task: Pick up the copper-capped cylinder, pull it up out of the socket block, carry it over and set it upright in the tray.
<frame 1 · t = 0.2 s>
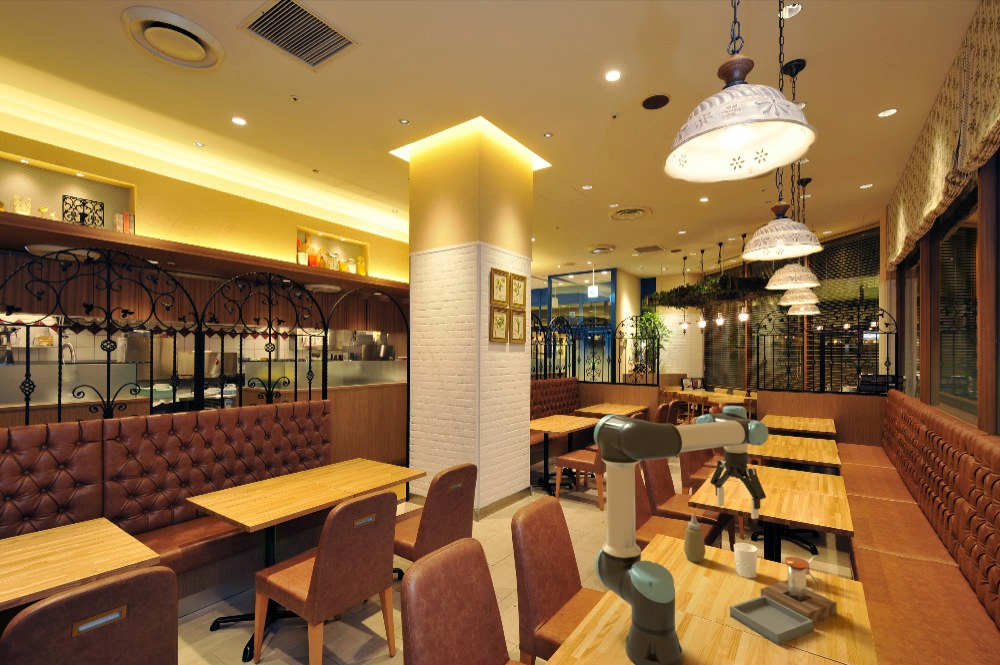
hand: (737, 511, 164), 28 cm above the table, fingers open, 13 cm apart
lily: (804, 582, 171), on the table
squeeze bottle: (694, 560, 189), on the table
tray: (770, 623, 146), on the table
socket block: (797, 607, 154), on the table
white cup: (746, 574, 177), on the table
copper-capped cylinder: (797, 584, 154), in the socket block
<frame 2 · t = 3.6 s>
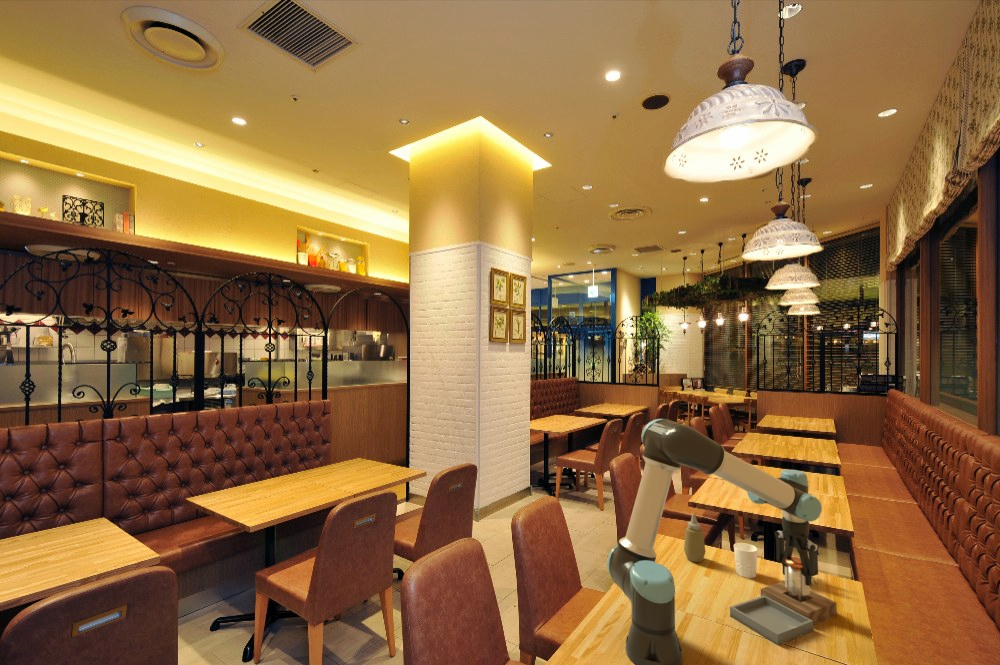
hand: (797, 590, 154), 6 cm above the table, fingers closed on copper-capped cylinder, 5 cm apart
copper-capped cylinder: (797, 584, 154), in the socket block, touching gripper
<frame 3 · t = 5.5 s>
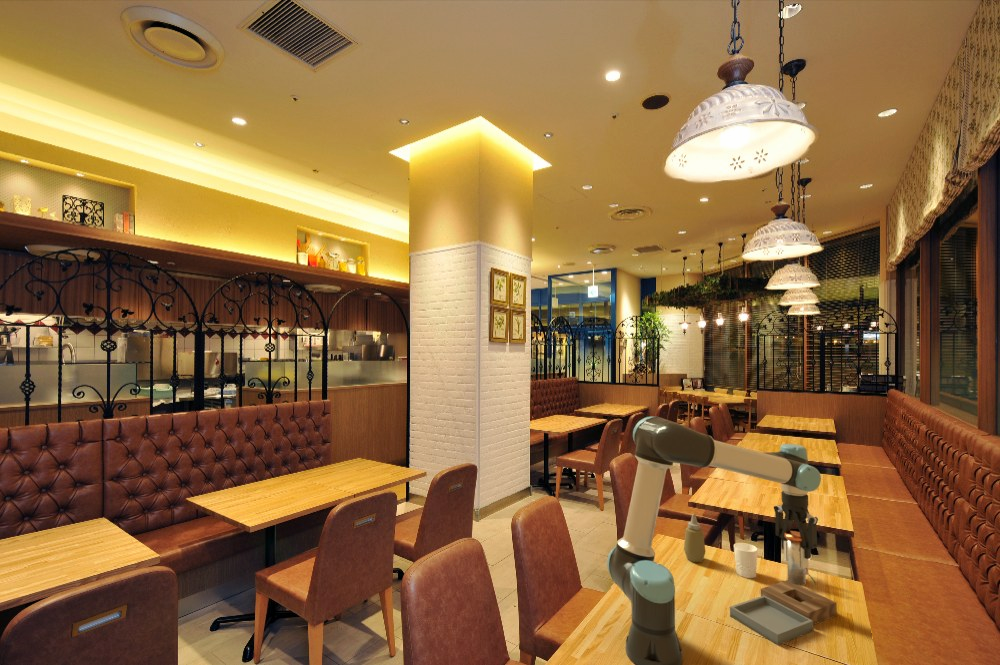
hand: (796, 563, 154), 14 cm above the table, fingers closed on copper-capped cylinder, 5 cm apart
copper-capped cylinder: (796, 558, 154), point 16 cm above the table, touching gripper
everything else where it was.
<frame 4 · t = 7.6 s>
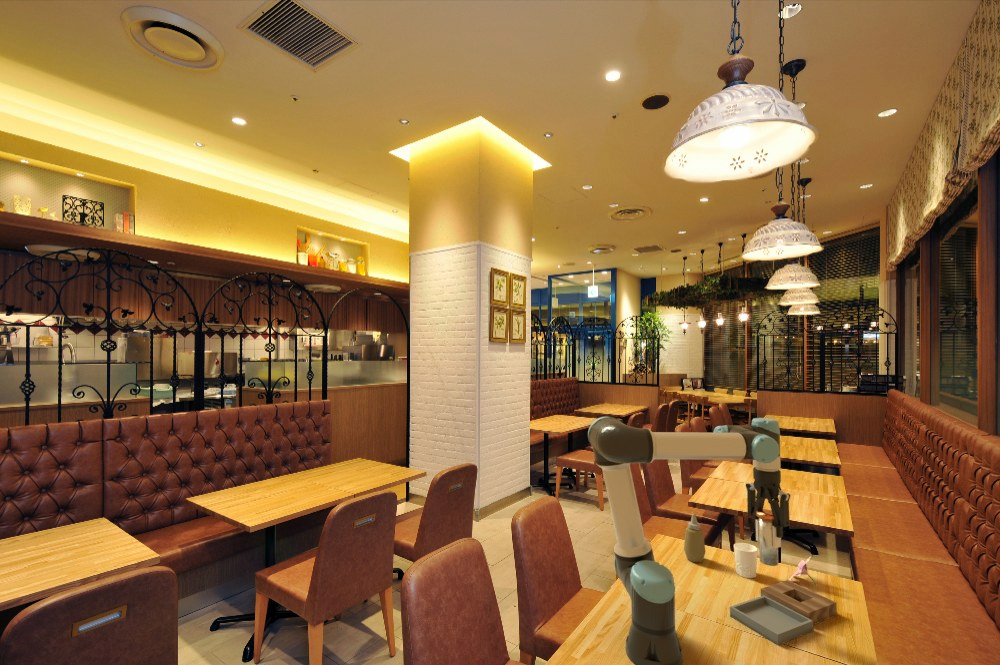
hand: (768, 543, 146), 24 cm above the table, fingers closed on copper-capped cylinder, 5 cm apart
copper-capped cylinder: (768, 537, 146), point 26 cm above the table, touching gripper
everything else where it was.
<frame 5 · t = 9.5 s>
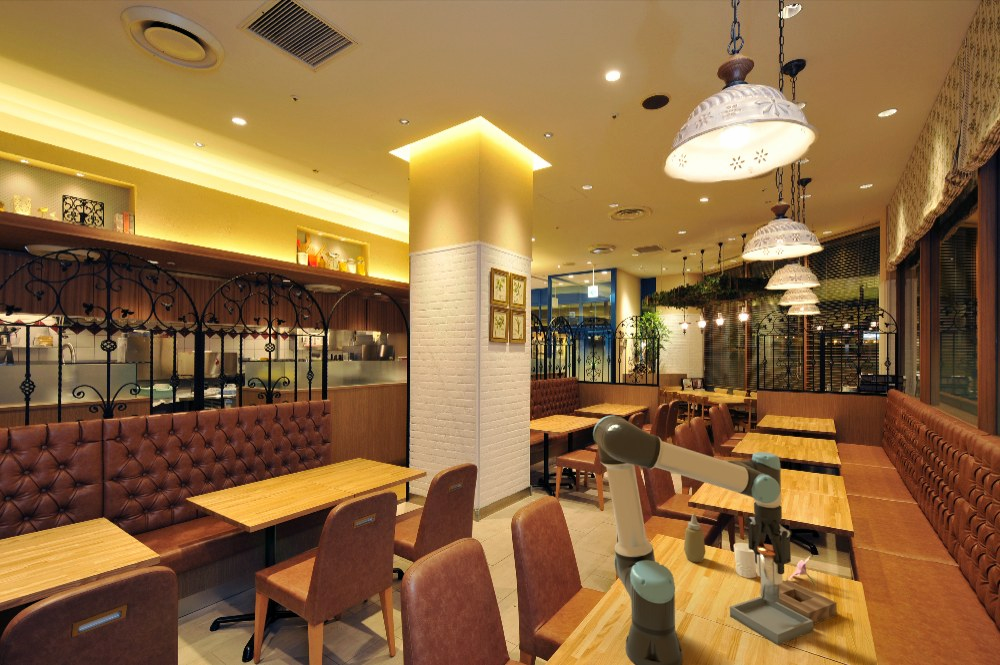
hand: (769, 579, 146), 14 cm above the table, fingers closed on copper-capped cylinder, 5 cm apart
copper-capped cylinder: (769, 573, 146), point 15 cm above the table, touching gripper
when the fingers open (8 cm above the table, at t = 11.4 s): copper-capped cylinder stays where it is, resting on tray.
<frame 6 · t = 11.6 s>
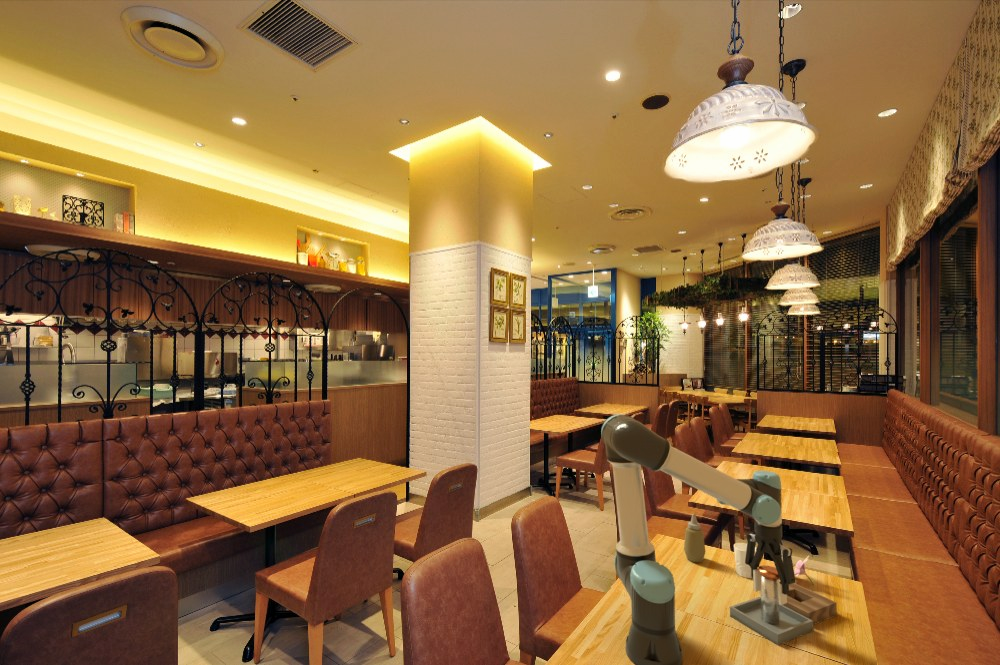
hand: (769, 596, 146), 8 cm above the table, fingers open, 8 cm apart
copper-capped cylinder: (770, 595, 146), in the tray, point 9 cm above the table
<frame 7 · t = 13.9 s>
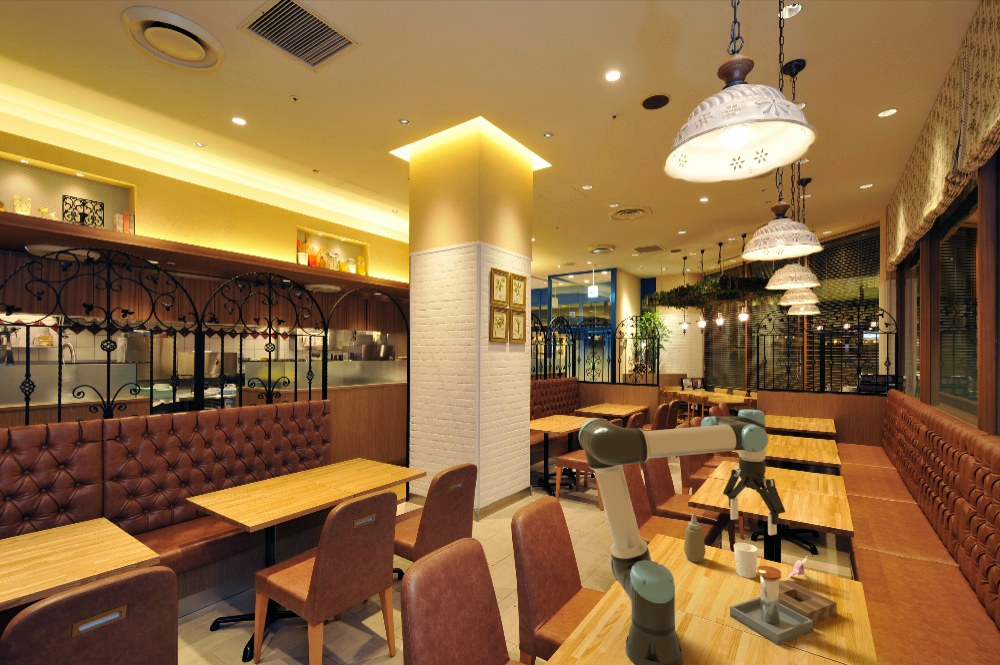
hand: (752, 526, 149), 29 cm above the table, fingers open, 13 cm apart
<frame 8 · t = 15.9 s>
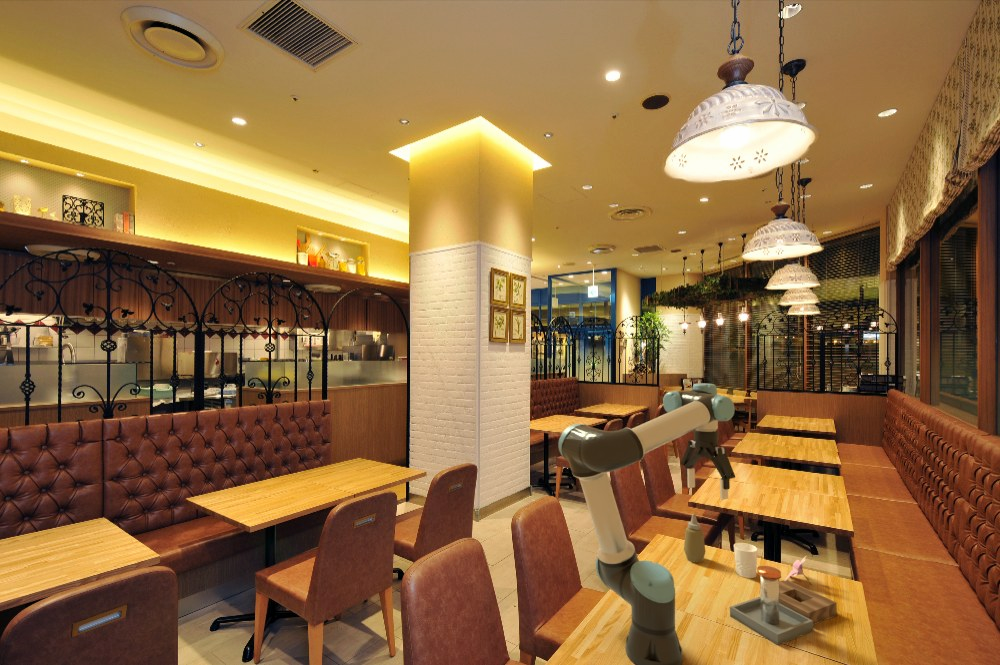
hand: (707, 493, 158), 37 cm above the table, fingers open, 13 cm apart
at the end: copper-capped cylinder inside the target area on the tray (0.0 cm from its centre), point 8.6 cm above the tray's base; the gripper is holding nothing; copper-capped cylinder tilted 0° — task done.
